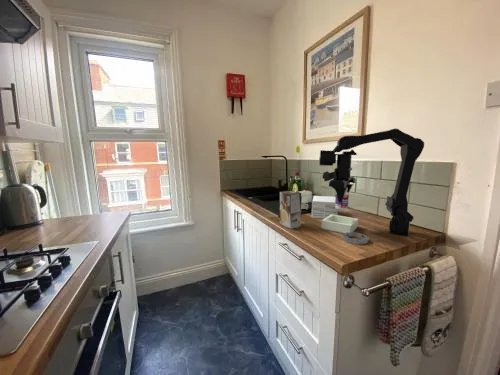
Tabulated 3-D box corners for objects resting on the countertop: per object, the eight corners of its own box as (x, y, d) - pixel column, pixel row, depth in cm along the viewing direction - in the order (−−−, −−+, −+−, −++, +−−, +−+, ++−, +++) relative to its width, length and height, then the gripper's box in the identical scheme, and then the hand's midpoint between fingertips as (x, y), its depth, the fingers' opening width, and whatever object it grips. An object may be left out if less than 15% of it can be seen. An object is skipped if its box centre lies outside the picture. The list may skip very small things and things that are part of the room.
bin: (357, 227, 102) (358, 218, 101) (350, 234, 92) (350, 225, 92) (330, 222, 109) (331, 214, 109) (321, 228, 100) (321, 220, 99)
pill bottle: (343, 210, 95) (344, 188, 93) (332, 208, 99) (333, 186, 98) (350, 208, 98) (351, 187, 96) (339, 206, 102) (340, 185, 101)
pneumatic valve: (293, 209, 135) (293, 190, 134) (309, 207, 139) (310, 188, 138) (298, 211, 130) (299, 191, 128) (314, 209, 134) (315, 190, 132)
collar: (370, 239, 87) (370, 235, 87) (365, 246, 81) (365, 242, 81) (347, 234, 93) (347, 230, 93) (341, 240, 86) (341, 237, 86)
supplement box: (337, 220, 113) (338, 202, 112) (311, 218, 117) (311, 201, 116) (335, 211, 129) (336, 196, 127) (312, 210, 133) (313, 195, 132)
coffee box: (301, 226, 103) (302, 193, 100) (290, 229, 100) (291, 194, 98) (289, 221, 111) (289, 190, 108) (278, 223, 108) (279, 191, 106)
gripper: (332, 164, 108) (330, 195, 110) (317, 166, 93) (316, 202, 96) (356, 164, 101) (354, 198, 103) (344, 167, 87) (342, 205, 89)
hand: (341, 200), depth 98 cm, fingers closed on pill bottle, 5 cm apart
